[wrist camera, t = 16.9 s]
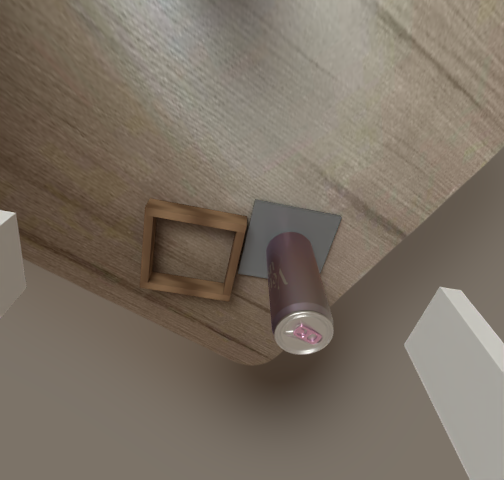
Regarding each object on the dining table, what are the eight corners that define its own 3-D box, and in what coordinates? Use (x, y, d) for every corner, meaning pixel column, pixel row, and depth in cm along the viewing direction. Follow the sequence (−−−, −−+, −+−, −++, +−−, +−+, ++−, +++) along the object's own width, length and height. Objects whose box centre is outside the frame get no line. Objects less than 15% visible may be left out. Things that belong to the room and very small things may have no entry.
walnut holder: (144, 276, 49) (139, 287, 47) (150, 198, 43) (144, 207, 41) (229, 289, 51) (229, 301, 48) (246, 216, 45) (246, 226, 42)
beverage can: (292, 274, 49) (308, 364, 36) (256, 254, 47) (259, 340, 34) (320, 243, 46) (348, 328, 33) (284, 221, 44) (298, 301, 31)
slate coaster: (237, 270, 49) (237, 273, 48) (255, 199, 43) (255, 201, 43) (314, 283, 50) (315, 286, 50) (340, 215, 45) (341, 217, 44)
